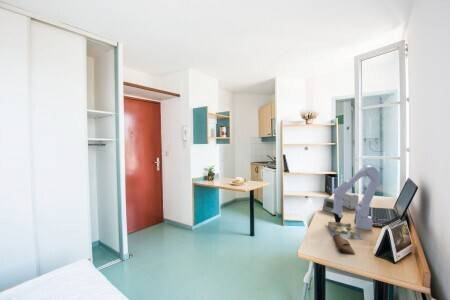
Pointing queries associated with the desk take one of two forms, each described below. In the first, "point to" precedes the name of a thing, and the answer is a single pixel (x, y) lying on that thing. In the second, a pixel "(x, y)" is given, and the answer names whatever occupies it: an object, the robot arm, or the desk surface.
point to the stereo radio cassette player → (350, 200)
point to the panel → (340, 226)
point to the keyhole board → (348, 235)
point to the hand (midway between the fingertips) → (337, 223)
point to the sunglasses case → (343, 245)
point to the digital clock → (328, 205)
